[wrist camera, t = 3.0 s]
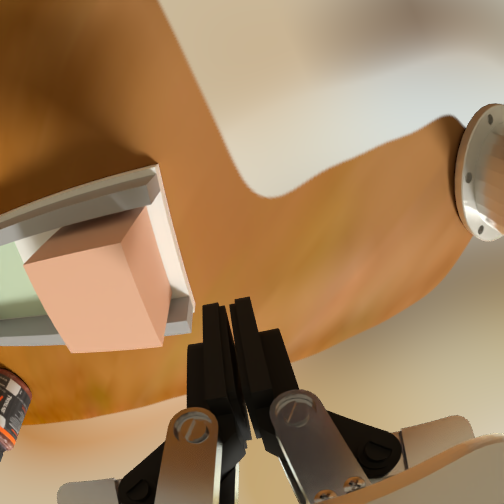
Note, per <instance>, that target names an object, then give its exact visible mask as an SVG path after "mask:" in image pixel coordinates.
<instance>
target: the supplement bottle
mask: <svg viewBox="0 0 504 504" xmlns="http://www.w3.org/2000/svg"><path fill="white" fill-rule="evenodd" d="M31 399H32V394H31V391H30V390H29V388H28V387H27V385H26V384H25V383H24V382H23V381H22V380H21V379H20V378H19V377H18V376H16V375H15V374H13V373H12V372H10V371H8V370H5V369H0V462H1V459H2V456H3V452H4V451H6V450H11V449H13V447H14V445H15V442H16V439H17V436H18V433H19V430H20V427H21V425H22V422H23V419H24V417H25V414H26V412H27V409H28V407H29V404H30V401H31Z"/></svg>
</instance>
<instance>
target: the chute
mask: <svg viewBox="0 0 504 504" xmlns="http://www.w3.org/2000/svg"><path fill="white" fill-rule="evenodd" d="M143 206H146V207H147V210H148V214H149V218H150V221H151V225H152V228H153V232H154V235H155V239H156V242H157V245H158V249H159V252H160V255H161V259H162V262H163V265H164V268H165V271H166V274H167V277H168V280H169V283H170V286H171V289H172V296H171V301H170V306H169V312H168V317H167V323H166V328H165V334H164V336H170V335H178V334H185V333H191V328H192V315H193V312H195V301H194V298H193V295H192V291H191V288H190V285H189V281H188V278H187V275H186V271H185V268H184V264H183V261H182V257H181V253H180V250H179V246H178V242H177V239H176V235H175V231H174V227H173V223H172V219H171V215H170V211H169V207H168V203H167V199H166V195H165V191H164V187H163V182H162V178H161V173H160V169H159V164H155V165H151V166H147V167H143V168H139V169H135V170H131V171H127V172H124V173H120V174H116V175H113V176H109V177H106V178H102V179H99V180H96V181H92V182H89V183H86V184H83V185H79V186H76V187H73V188H70V189H67V190H64V191H61V192H58V193H55V194H53V195H50V196H47V197H44V198H42V199H39V200H36V201H33V202H31V203H28V204H26V205H23V206H21V207H18V208H16V209H13V210H11V211H8V212H6V213H4V214H1V215H0V346H41V345H66V344H65V342H64V341H63V339H62V338H61V336H60V334H59V333H58V331H57V330H56V328H55V326H54V324H53V323H52V321H51V319H50V318H49V316H48V314H47V312H46V311H45V309H44V307H43V305H42V303H41V301H40V299H39V298H38V296H37V294H36V292H35V290H34V288H33V286H32V284H31V282H30V280H29V277H28V275H27V273H26V271H25V269H24V267H23V264H24V263H25V262H26V261H27V260H28V259H29V258H30V257H31V256H32V255H33V254H34V253H35V252H36V251H37V250H38V249H39V248H40V247H41V246H42V245H43V244H44V243H45V242H46V241H47V240H48V239H49V238H50V237H51V236H52V235H53V234H55V233H56V232H57V231H58V230H59V229H60V228H61V227H64V226H67V225H71V224H74V223H78V222H82V221H86V220H89V219H93V218H97V217H101V216H105V215H109V214H113V213H117V212H121V211H125V210H130V209H134V208H138V207H143Z"/></svg>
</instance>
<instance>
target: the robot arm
mask: <svg viewBox="0 0 504 504" xmlns="http://www.w3.org/2000/svg"><path fill="white" fill-rule="evenodd" d="M455 197H456V205H457V209H458V213H459V216H460V219H461V221H462V223H463V225H464V226H465V228H466V229H467V230H468V231H469V232H470V233H471V234H472V235H474V236H475V237H477V238H478V239H481V240H483V241H493V240H496V239H498V238H500V237H502V236H503V235H504V105H502V104H488V105H486V106H484V107H482V108H481V109H480V110H479V111H477V112H476V113H475V114H474V116H473V117H472V119H471V120H470V122H469V123H468V125H467V128H466V130H465V132H464V134H463V137H462V140H461V144H460V147H459V151H458V156H457V161H456V170H455ZM229 306H230V313H231V321H232V328H233V334H234V340H233V336H232V333H231V329H230V325H229V321H228V317H227V313H226V308H225V306H219V304H218V303H213V304H207V305H203V308H202V309H203V343H197V344H190V345H188V349H187V409H184V410H181V411H180V412H178V413H177V414H176V415H175V416H174V417H173V418H172V419H171V421H170V423H169V426H168V431H167V435H166V440H165V442H163V443H162V444H161V445H160V446H159V447H158V448H157V449H156V450H155V451H153V452H152V453H151V454H150V455H149V456H148V457H147V458H145V459H144V460H143V461H142V462H141V463H140V464H138V465H137V466H136V467H135V468H134V469H133V470H131V471H130V472H129V473H128V474H127V475H125V476H124V478H123V479H119V480H116V479H114V478H110V479H103V480H93V481H83V482H69V483H66V484H64V485H62V486H61V487H60V488H59V490H58V493H57V503H58V504H238V486H239V461H240V460H241V459H242V458H243V457H244V455H245V454H246V452H245V449H246V448H247V443H246V440H251V439H252V437H251V431H250V425H249V420H248V414H247V409H248V412H249V416H250V419H251V422H252V425H253V428H254V431H255V434H256V438H257V439H258V438H262V440H263V443H264V446H265V450H266V451H268V452H269V453H271V454H273V455H275V456H277V457H278V458H279V461H280V463H281V465H282V467H283V470H284V472H285V474H286V476H287V478H288V481H289V483H290V485H291V487H292V489H293V491H294V494H295V496H296V498H297V500H298V502H299V504H504V433H494V434H488V435H483V436H479V437H476V438H475V437H474V434H473V430H472V427H471V425H470V423H469V421H468V420H467V419H465V418H464V417H462V416H458V415H454V416H449V417H446V418H442V419H439V420H435V421H431V422H428V423H424V424H420V425H416V426H412V427H407V428H402V429H401V430H400V431H398V432H393V433H389V432H387V431H384V430H381V429H378V428H374V427H372V426H369V425H366V424H363V423H360V422H357V421H354V420H351V419H348V418H346V417H343V416H340V415H338V414H335V413H332V412H330V411H327V410H326V409H325V408H324V406H323V404H322V403H321V401H320V400H319V399H318V397H317V396H316V395H314V394H313V393H311V392H309V391H305V390H299V388H298V384H297V381H296V378H295V375H294V372H293V369H292V366H291V363H290V360H289V357H288V354H287V351H286V348H285V345H284V342H283V339H282V336H281V333H280V330H279V328H277V329H272V330H267V331H263V332H258V329H257V324H256V320H255V316H254V312H253V308H252V304H251V300H250V297H245V298H239V299H235V304H230V305H229ZM234 341H235V344H234ZM246 406H247V408H246Z"/></svg>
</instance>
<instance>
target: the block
mask: <svg viewBox="0 0 504 504" xmlns="http://www.w3.org/2000/svg"><path fill="white" fill-rule="evenodd" d="M23 267H24V269H25V271H26V273H27V275H28V277H29V280H30V282H31V284H32V286H33V288H34V290H35V292H36V294H37V296H38V298H39V299H40V301H41V303H42V305H43V307H44V309H45V311H46V312H47V314H48V316H49V318H50V319H51V321H52V323H53V324H54V326H55V328H56V330H57V331H58V333H59V334H60V336H61V338H62V339H63V341H64V342H65V344H66V346H67V347H68V349H69V350H70V352H71V353H86V352H104V351H119V350H131V349H142V348H153V347H162V346H163V340H164V334H165V328H166V323H167V317H168V312H169V306H170V301H171V296H172V289H171V286H170V283H169V280H168V277H167V274H166V271H165V268H164V265H163V262H162V259H161V255H160V252H159V249H158V245H157V242H156V239H155V235H154V232H153V228H152V225H151V221H150V218H149V214H148V210H147V207H146V206H143V207H138V208H134V209H130V210H125V211H121V212H117V213H113V214H109V215H105V216H101V217H97V218H93V219H89V220H86V221H82V222H78V223H74V224H71V225H67V226H64V227H61V228H60V229H59V230H58V231H57V232H56V233H55V234H53V235H52V236H51V237H50V238H49V239H48V240H47V241H46V242H45V243H44V244H43V245H42V246H41V247H40V248H39V249H38V250H37V251H36V252H35V253H34V254H33V255H32V256H31V257H30V258H29V259H28V260H27V261H26V262H25V263H24V264H23Z"/></svg>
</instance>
